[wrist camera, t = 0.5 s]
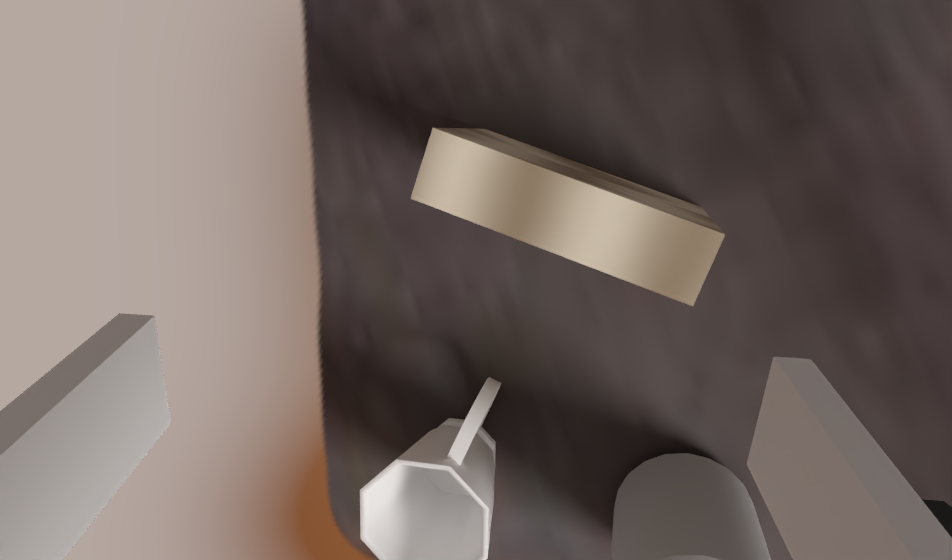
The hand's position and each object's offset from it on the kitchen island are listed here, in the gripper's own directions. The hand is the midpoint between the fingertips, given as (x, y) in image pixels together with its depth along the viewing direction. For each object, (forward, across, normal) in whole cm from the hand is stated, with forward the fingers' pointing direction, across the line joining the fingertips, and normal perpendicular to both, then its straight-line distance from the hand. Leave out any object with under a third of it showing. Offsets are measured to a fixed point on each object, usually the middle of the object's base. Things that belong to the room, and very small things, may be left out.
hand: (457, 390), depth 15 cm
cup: (+21, 0, -16) cm, 27 cm away
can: (+19, +12, -18) cm, 29 cm away
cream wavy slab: (+23, +5, -2) cm, 23 cm away
